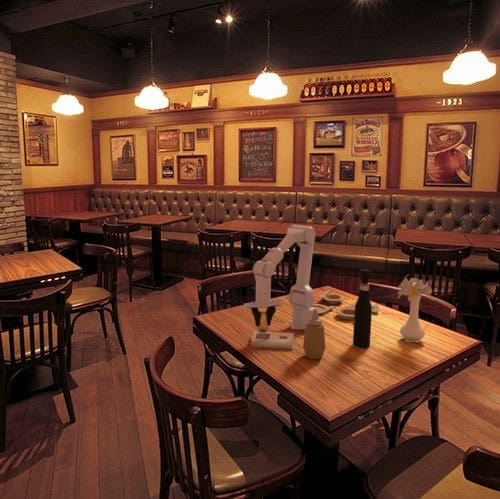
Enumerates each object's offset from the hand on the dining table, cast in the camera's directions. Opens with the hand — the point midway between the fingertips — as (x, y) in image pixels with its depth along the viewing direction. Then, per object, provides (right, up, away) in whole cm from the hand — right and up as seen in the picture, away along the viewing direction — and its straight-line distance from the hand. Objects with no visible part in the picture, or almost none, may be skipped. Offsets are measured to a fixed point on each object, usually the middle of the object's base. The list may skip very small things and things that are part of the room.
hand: (262, 325), depth 169 cm
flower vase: (+59, -7, +4) cm, 60 cm away
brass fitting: (0, -2, +1) cm, 2 cm away
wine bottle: (+38, -8, -1) cm, 39 cm away
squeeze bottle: (+18, -10, -11) cm, 24 cm away
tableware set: (+38, 0, +40) cm, 56 cm away
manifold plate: (+4, -7, +1) cm, 8 cm away
